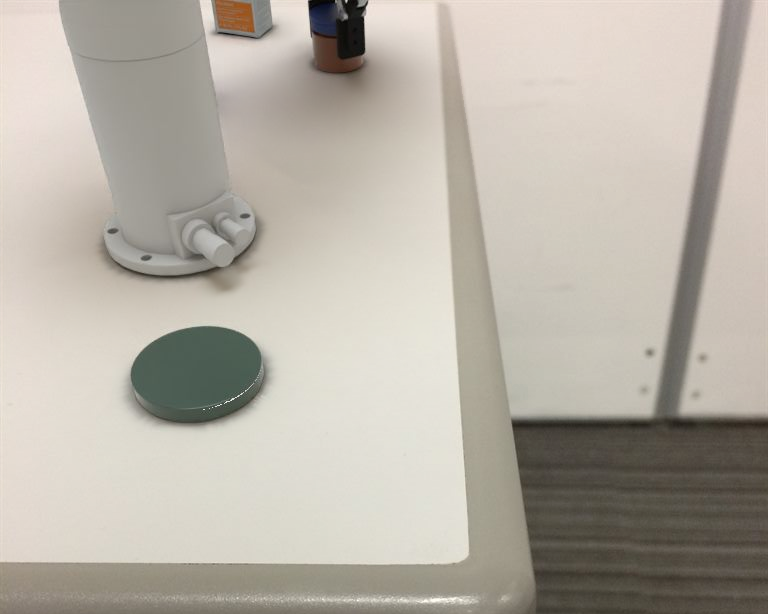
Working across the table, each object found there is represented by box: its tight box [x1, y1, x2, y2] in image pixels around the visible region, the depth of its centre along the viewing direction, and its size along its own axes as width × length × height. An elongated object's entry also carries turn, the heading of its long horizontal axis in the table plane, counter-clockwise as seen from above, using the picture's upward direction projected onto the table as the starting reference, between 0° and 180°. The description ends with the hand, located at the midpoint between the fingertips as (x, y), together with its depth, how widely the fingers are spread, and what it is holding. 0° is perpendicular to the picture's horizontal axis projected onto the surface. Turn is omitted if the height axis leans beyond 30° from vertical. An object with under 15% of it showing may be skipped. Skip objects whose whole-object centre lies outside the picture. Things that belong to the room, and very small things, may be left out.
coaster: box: [129, 325, 265, 423], centre depth 57 cm, size 9×9×1 cm
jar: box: [311, 30, 364, 74], centre depth 92 cm, size 6×6×4 cm
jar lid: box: [308, 3, 339, 35], centre depth 90 cm, size 6×6×1 cm
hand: (337, 45), depth 92 cm, fingers closed on jar lid, 5 cm apart
